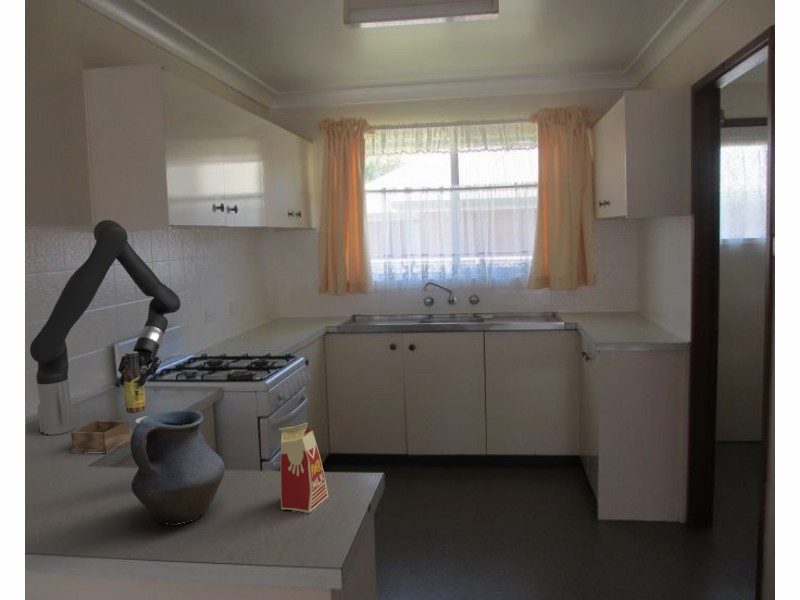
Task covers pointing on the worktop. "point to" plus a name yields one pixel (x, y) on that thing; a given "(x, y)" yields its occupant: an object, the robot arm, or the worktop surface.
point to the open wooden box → (100, 436)
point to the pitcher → (174, 466)
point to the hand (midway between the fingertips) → (130, 384)
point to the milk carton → (301, 470)
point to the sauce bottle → (133, 384)
